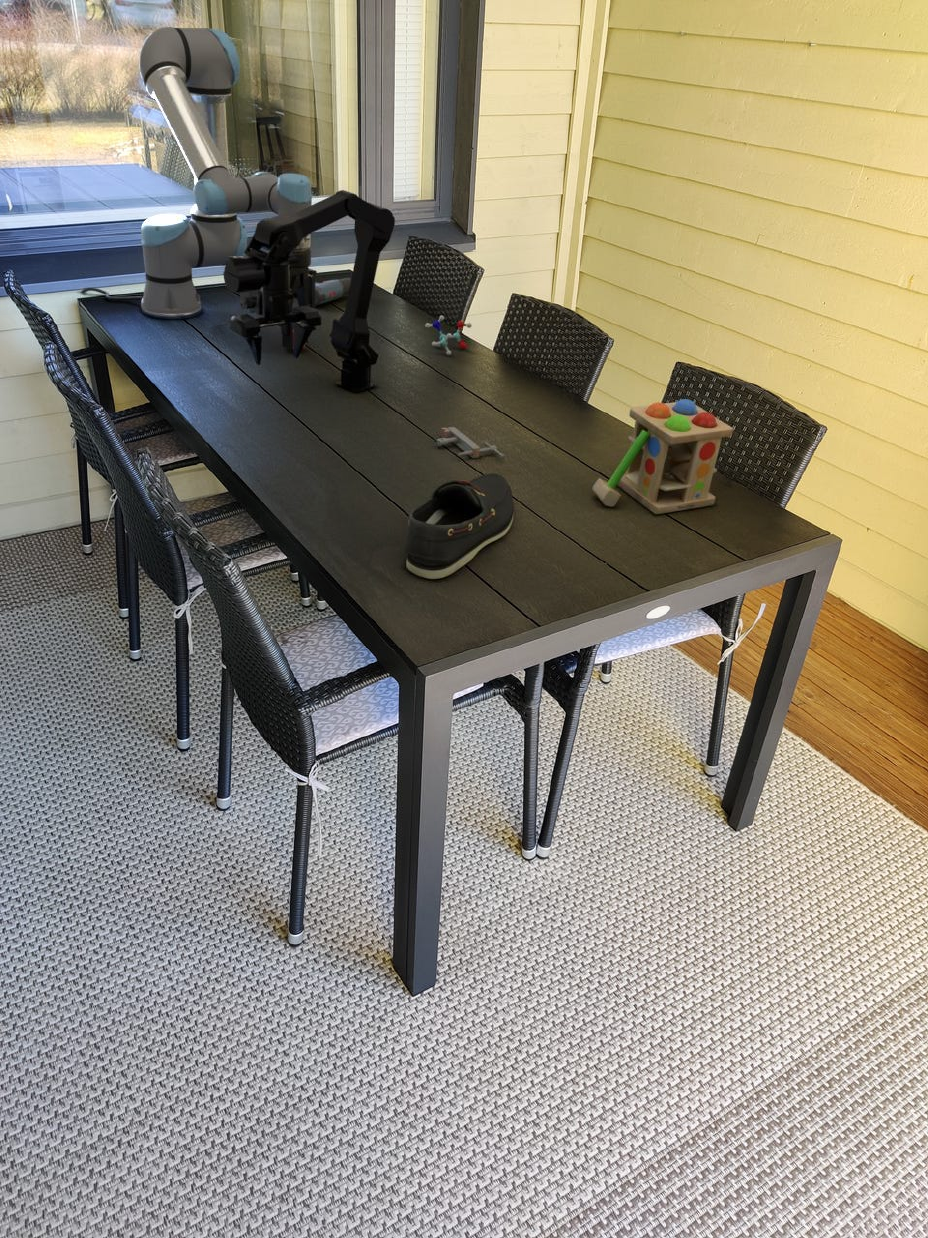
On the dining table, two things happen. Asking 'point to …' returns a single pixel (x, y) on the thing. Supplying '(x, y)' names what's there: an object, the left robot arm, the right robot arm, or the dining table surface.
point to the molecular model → (448, 335)
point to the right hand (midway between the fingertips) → (277, 360)
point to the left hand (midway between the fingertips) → (295, 344)
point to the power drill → (331, 290)
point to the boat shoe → (457, 524)
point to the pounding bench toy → (668, 458)
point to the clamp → (464, 443)
